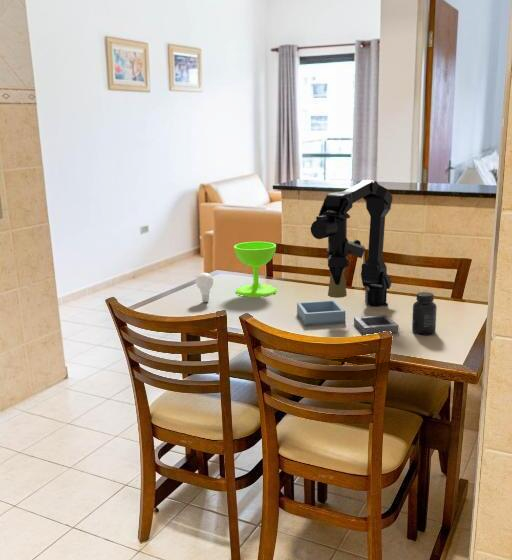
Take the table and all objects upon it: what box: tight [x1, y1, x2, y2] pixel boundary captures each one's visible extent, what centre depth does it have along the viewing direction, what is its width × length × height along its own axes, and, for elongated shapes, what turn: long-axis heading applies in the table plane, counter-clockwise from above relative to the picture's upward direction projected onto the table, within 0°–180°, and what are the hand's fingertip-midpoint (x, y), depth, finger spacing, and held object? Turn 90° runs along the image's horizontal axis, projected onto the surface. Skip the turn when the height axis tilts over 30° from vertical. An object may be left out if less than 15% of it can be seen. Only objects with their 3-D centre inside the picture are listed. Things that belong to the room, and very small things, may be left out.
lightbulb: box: [195, 272, 214, 303], centre depth 222 cm, size 6×6×11 cm
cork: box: [327, 267, 348, 299], centre depth 194 cm, size 6×6×11 cm
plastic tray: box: [296, 299, 346, 327], centre depth 200 cm, size 13×13×4 cm
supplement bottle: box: [411, 291, 438, 337], centre depth 184 cm, size 7×7×12 cm
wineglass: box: [233, 241, 278, 298], centre depth 233 cm, size 16×16×18 cm
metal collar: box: [353, 314, 399, 336], centre depth 189 cm, size 11×11×2 cm
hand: (337, 282), depth 194 cm, fingers closed on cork, 4 cm apart
